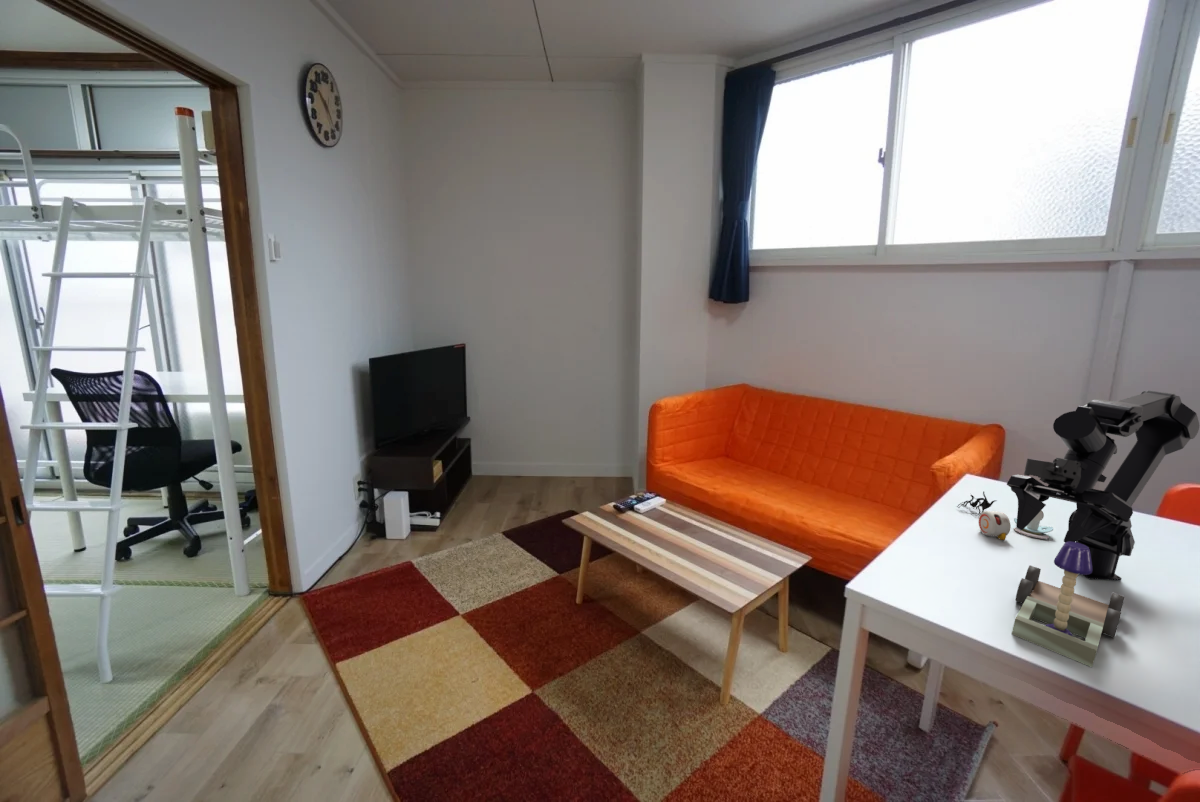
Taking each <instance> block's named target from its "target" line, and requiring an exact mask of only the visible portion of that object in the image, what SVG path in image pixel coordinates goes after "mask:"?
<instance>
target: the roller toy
mask: <svg viewBox="0 0 1200 802" xmlns="http://www.w3.org/2000/svg"><path fill="white" fill-rule="evenodd" d="M980 513H981V514H979V515H978V527H979V529H980V531H981V533H982V534H983V535H984V536H987V537H997V539H998V540H1001V541H1004V540H1006V538H1007V536H1008V535H1009V534H1010V532H1011V529H1012V528H1011V525H1012V524H1011V522H1010V518H1009V516H1008V515H1007V514H1006V513H1005V512H1002V511H996V510H994V511H993V510H984V511H983V512H982V511H981V512H980Z"/></svg>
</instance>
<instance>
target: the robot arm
mask: <svg viewBox="0 0 1200 802" xmlns="http://www.w3.org/2000/svg"><path fill="white" fill-rule="evenodd" d="M1052 428H1053V431H1054V432H1055V435H1056V436H1058V438H1059V439H1060V441H1062V443H1063V445H1064V446H1065V447H1066V448H1067V449H1068V450H1067V451H1066V453H1065V454H1064V456H1063V457H1062V458H1061V457H1056V458H1055V459H1053V461H1051V462H1050V461H1046V460H1041V459H1040V460H1039V459H1034V458H1027V459H1026V463H1025V469H1024V473H1023V474H1018V473H1017V474H1013V475H1010V478H1009V480H1008V481H1007V482H1006V486H1008V487H1010V490H1011V492H1013V493H1015V496H1016V498H1017V516H1016V519H1017V524H1016V523H1015V525H1016V527H1017V528H1019V529H1020V530H1023V529H1024V528H1025V527H1026V526H1027V525H1028V524H1029V523H1030V522H1031V521H1032V520H1033V519H1034V518H1035V517H1036V515H1037V514H1038V513H1039V512H1040V511H1041V510H1042V511H1043V509H1044V508H1045V507H1046V506H1047V504H1046V503H1044V502H1046V501H1048V500H1049V498H1053V499H1058V500H1062V501H1066V502H1070V503H1074V504H1076V509H1075V510H1073V511H1072V513H1071V514H1070V515H1069V518H1068V526H1067V529H1068V530H1067V531H1066V533H1065V536H1064V538H1063V542H1064V544H1065V543H1066V542H1069V541H1070V542H1077V543H1081V544H1083V545H1086V546H1087V547H1088V548H1089V549H1090V554H1091V561H1092V573H1091V574H1088V575H1082V576H1083V577H1085V578H1087V579H1089V580H1102V581H1103V580H1105V581H1119V582H1121V581H1122V577H1121V576H1119V575H1117V574H1116V570H1117V567H1118V563H1119V559H1120V557H1122V556H1127V557H1131V555H1132V552H1133V549H1134V546H1135V544H1136V541H1135V538H1134V535H1133V533H1132V529H1131V528H1132V527H1133V526H1132V522H1131V517H1132V516H1133V514H1134V511H1133V507H1132V506H1133V505H1134V503H1135V502H1136V501H1137V498H1138V497H1139V496H1140V494H1141V493H1142V491H1143V489H1144V488H1145V487H1146V485H1148V484H1147V483H1148V482H1149V481H1150V479H1151V477H1152V476H1153V474H1154V473H1155V471H1156V470H1157V468H1158V467H1159V465H1160V464H1161V463H1162V461H1163V459H1164V458H1165V457H1166V456H1167V455H1169V454H1172V453H1175V452H1178V451H1180V450H1182V449H1184V448H1185V447H1186V445H1187V444H1188V443H1189V442H1190V440H1194V439H1195V438H1196V437H1197V435H1198V433H1199V430H1200V422H1199V417H1198V414H1197V412H1195V411H1194V410H1193V409H1191V408H1189V407H1188V406H1187V405H1186V404H1184V403H1183V402H1182V399H1181V397H1180V396H1179V395H1176V394H1175V393H1168V392H1164V391H1163V392H1161V391H1155V390H1145V391H1144V390H1143V391H1142V392H1141V393H1140V394H1137V395H1134V396H1133V395H1132V396H1130V397H1127V398H1124V399H1120V400H1116V401H1115V400H1107V399H1092V400H1089V401H1088V402H1087V403H1086V404H1084V405H1082V406H1081V405H1077V408H1076V409H1075V410H1073V411H1068V412H1065V413H1063V414H1061V415H1059V416H1058V417H1056V418H1055V420H1054V421H1053V425H1052ZM1134 433H1135V436H1136V442H1135V443H1134V445H1133V446H1132V448H1131V450H1130V452H1128V454H1127V455H1126V457H1125V458H1124V460H1123V462H1122V463H1121V464H1120V466H1119V468H1118V469H1117V471H1116V472H1114V475H1113V476H1112V478H1111V479H1110V481H1109V483H1107V485H1106V487H1105V488H1104V490H1101V489H1100V490H1099V489H1096V488H1095V486H1096V484H1097V483H1098V482H1100V483H1105V481H1106V480H1107V478H1108V477H1107V476H1105V475H1104V474H1103V473H1104V471H1105V469H1106V467H1107V466H1108V464H1109V462H1110V461H1111V458H1112V457H1113V456H1114V455H1117V453H1118V445H1117V444H1116V443H1115V439H1114V438H1112V437H1110V436H1109V435H1113V436H1118V437H1123V438H1128V437H1129V436H1131V435H1133V434H1134ZM1107 434H1108V435H1107ZM1032 476H1033V477H1032ZM1034 477H1037V478H1039V480H1038V479H1036V478H1034ZM1042 482H1043V483H1042ZM1045 484H1047V485H1045ZM1094 488H1095V489H1094ZM1016 527H1015V528H1016Z"/></svg>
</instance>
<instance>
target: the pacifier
mask: <svg viewBox="0 0 1200 802" xmlns="http://www.w3.org/2000/svg"><path fill="white" fill-rule="evenodd" d="M1043 511H1044V510H1043V509H1042V510H1041V511H1040V512H1039V513H1038V514H1037V515H1036V517H1035V518H1034V519H1033V520H1032V521H1031V522H1030V523H1029V524H1028V525H1027V526H1026V527H1025V528H1024V529H1023V530H1020V529H1019V528H1017V527H1014V528H1013V529H1014V531H1016V532H1018V533H1019V534H1021V535H1024V536H1027V537H1031V538H1036V539H1040V540H1048V539H1050V537H1049V535H1048V534H1046V533H1050V532H1053V531H1054V527H1052V526H1047V525H1046V526H1045V525H1044V526H1043V525H1041V526H1040V524H1041V521H1042V520H1043V519H1044V517H1045V515H1044V512H1043ZM1013 522H1014V523H1015V525H1016V524H1017V517H1014V518H1013Z"/></svg>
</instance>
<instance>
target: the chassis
mask: <svg viewBox="0 0 1200 802" xmlns="http://www.w3.org/2000/svg"><path fill="white" fill-rule="evenodd" d="M1040 575H1041V568H1039V567H1037V566H1033V565H1028V568H1027V570H1026V573H1025V577H1023V578H1021V579H1020V582H1019V584H1018V587H1017V591H1016V595H1015V602H1017V603H1020V604H1021V605H1022V606H1021V607H1020V609H1019V611H1018V613H1017V614H1016V616H1015V619H1014V622H1013V627H1012V630H1011V635H1013V636H1016V637H1018V638H1020V639H1023V640H1024V641H1027V642H1030V643H1032V644H1034V645H1037V646H1038V647H1039V646H1040V647H1042V648H1045V649H1047V650H1049V651H1052V652H1054V653H1056V654H1059V655H1061V656H1063V657H1067V658H1068V659H1071V660H1073V661H1076V662H1079V663H1081V664H1083V665H1086V666H1088V667H1089V668H1090V667H1091V668H1093V666H1094V662H1095V658H1096V655H1097V652H1098V647H1099V643H1100V640H1101V637H1102V634H1103V635H1106V636H1108V637H1112V638H1113V639H1114V638H1115V637H1116V634H1117V630H1118V627H1119V623H1120V620H1121V616H1122V609H1123V606H1124V601H1125V595H1121V594H1118V593H1115V592H1113V591H1112V592H1111V595H1110V600H1109V604H1108V603H1105V602H1102V601H1099V600H1095V599H1093V598H1090V597H1087V596H1085V595H1081V594H1078V593H1075V592H1074V594H1073V595H1072V598H1073V600H1072V603H1071V604H1070V605H1071V610H1070V612H1069V619H1068V620H1067V628H1066V629H1068V630H1069V631H1070V632H1071V633H1072V635H1073V636H1070V635H1068V634H1065V633H1063V632H1060V631H1057V630H1055V629H1052V628H1050V627H1047V626H1045V625H1047V624H1054V619H1055V618H1056V616H1055V612H1056V610H1057V603H1058V601H1059V599H1058V596H1059V594H1060V592H1061V591H1060V587H1058V586H1054V585H1052V584H1050V583H1046V582H1043V581H1040V580H1039V579H1040ZM1034 620H1037V621H1039V622H1042V623H1044V624H1042V623H1039V622H1036V621H1034ZM1074 635H1077V636H1078V637H1079V636H1080V637H1081V638H1084V639H1085V640H1083V639H1080V638H1078V637H1075V636H1074Z"/></svg>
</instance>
